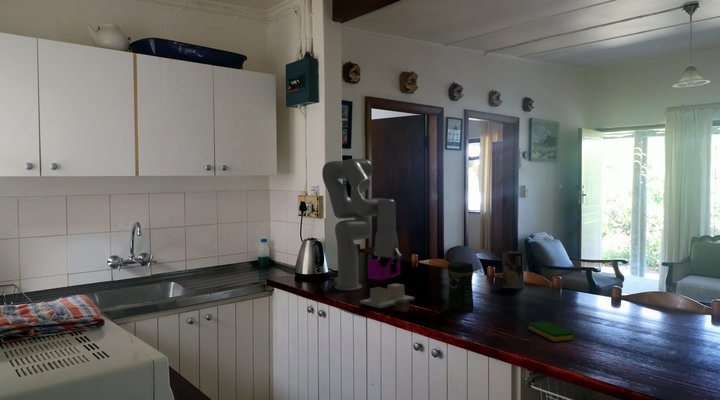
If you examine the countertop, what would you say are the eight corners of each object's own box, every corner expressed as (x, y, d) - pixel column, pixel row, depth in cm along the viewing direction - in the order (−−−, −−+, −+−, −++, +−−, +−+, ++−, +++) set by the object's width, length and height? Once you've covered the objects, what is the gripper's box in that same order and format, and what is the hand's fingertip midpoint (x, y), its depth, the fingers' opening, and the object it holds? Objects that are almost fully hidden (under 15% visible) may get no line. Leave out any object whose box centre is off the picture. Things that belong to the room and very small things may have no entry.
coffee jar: (477, 310, 198) (477, 262, 197) (462, 313, 194) (461, 264, 193) (459, 305, 206) (459, 259, 205) (444, 308, 202) (444, 261, 201)
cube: (395, 311, 200) (394, 300, 199) (400, 308, 203) (399, 298, 203) (404, 312, 197) (404, 302, 197) (409, 310, 201) (409, 299, 200)
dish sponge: (554, 342, 161) (554, 335, 161) (528, 330, 174) (528, 323, 174) (573, 340, 163) (573, 332, 162) (546, 328, 176) (546, 321, 176)
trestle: (360, 303, 212) (359, 288, 212) (394, 294, 226) (394, 281, 225) (380, 308, 203) (380, 293, 203) (414, 299, 217) (414, 285, 216)
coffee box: (524, 286, 238) (524, 251, 238) (523, 289, 232) (523, 253, 232) (503, 285, 242) (503, 250, 241) (502, 288, 236) (502, 252, 235)
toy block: (378, 280, 206) (378, 261, 206) (368, 278, 211) (367, 259, 211) (404, 274, 216) (404, 257, 216) (394, 273, 221) (393, 255, 221)
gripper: (365, 228, 217) (366, 271, 218) (395, 231, 204) (396, 276, 205) (378, 227, 222) (379, 268, 223) (408, 229, 209) (409, 273, 210)
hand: (387, 272), depth 214 cm, fingers closed on toy block, 6 cm apart
